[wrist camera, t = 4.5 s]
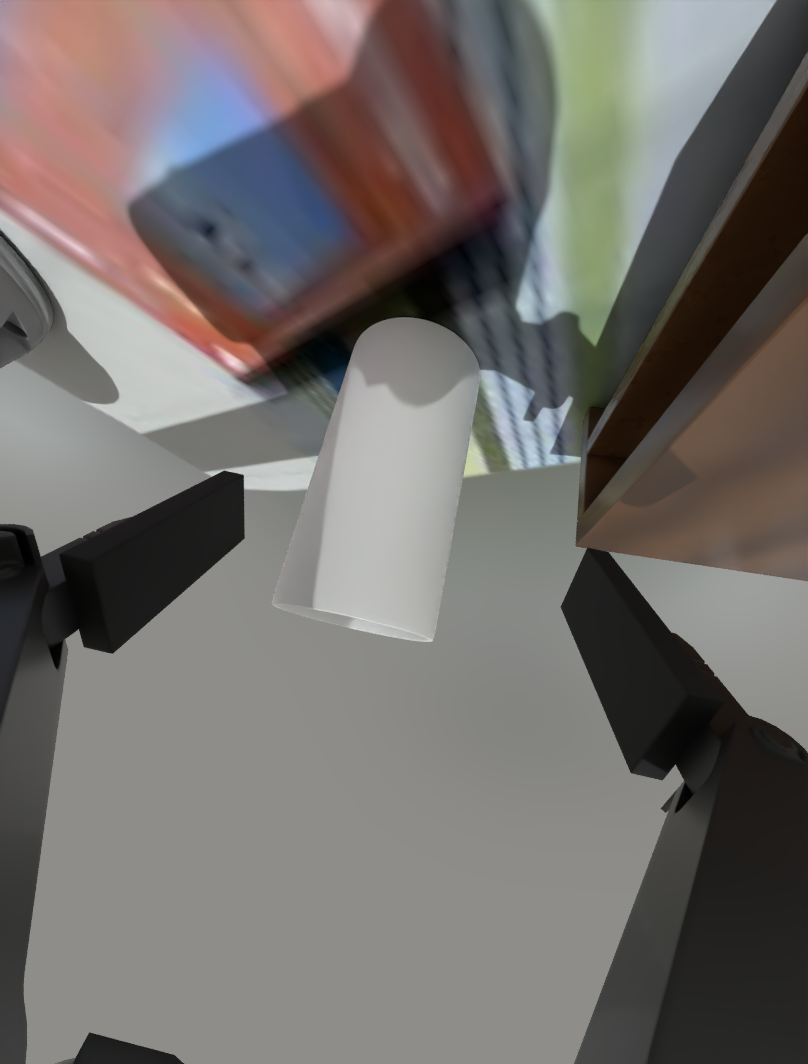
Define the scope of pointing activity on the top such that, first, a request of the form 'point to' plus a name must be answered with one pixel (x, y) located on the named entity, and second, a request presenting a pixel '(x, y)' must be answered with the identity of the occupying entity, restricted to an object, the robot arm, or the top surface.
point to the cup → (386, 485)
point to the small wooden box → (719, 387)
